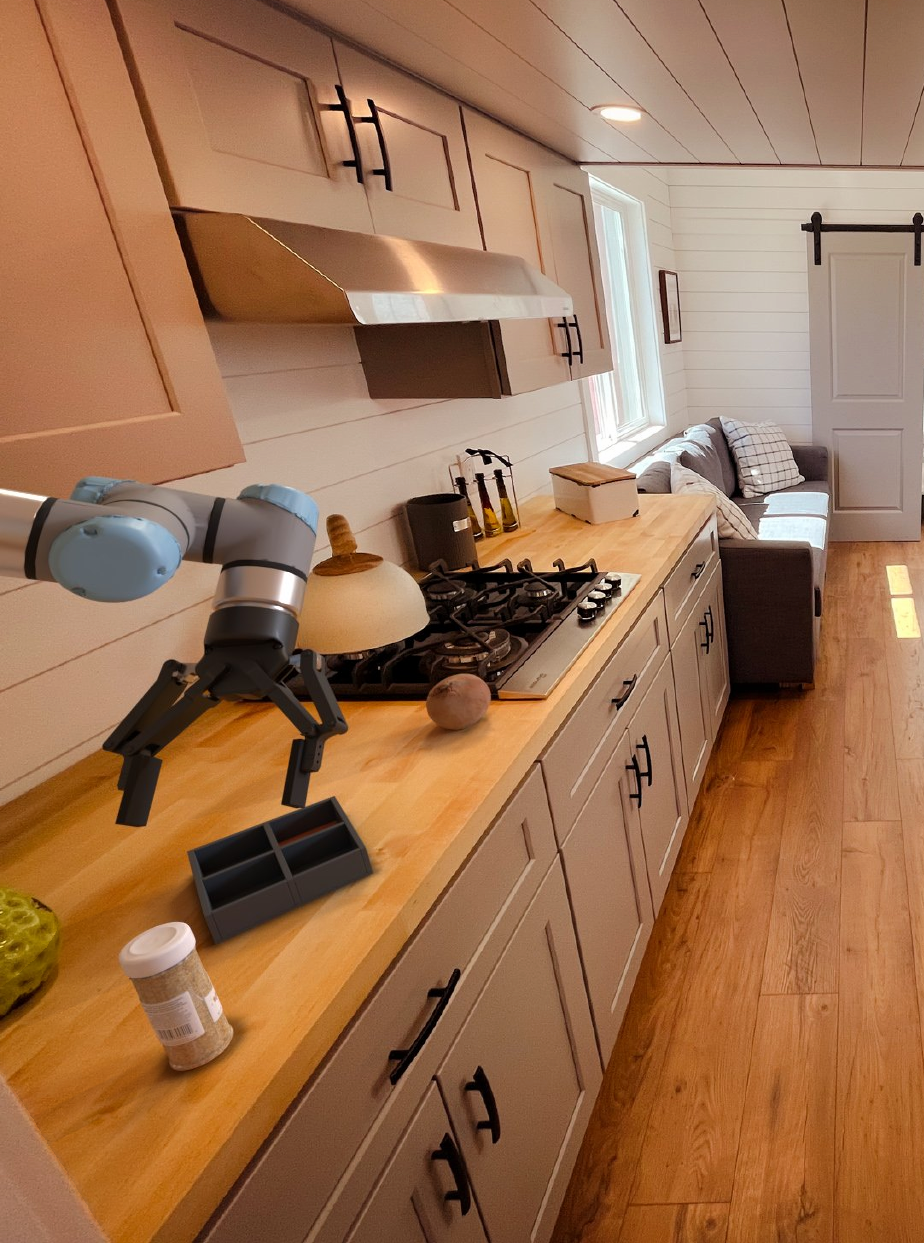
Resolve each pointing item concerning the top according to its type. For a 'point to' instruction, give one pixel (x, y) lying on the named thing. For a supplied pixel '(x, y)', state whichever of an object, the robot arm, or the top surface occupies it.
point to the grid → (276, 867)
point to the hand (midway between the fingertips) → (213, 816)
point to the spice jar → (177, 994)
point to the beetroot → (458, 701)
